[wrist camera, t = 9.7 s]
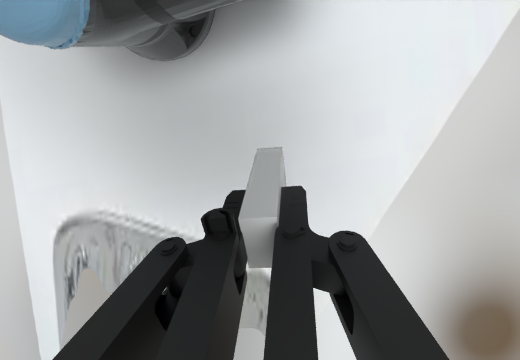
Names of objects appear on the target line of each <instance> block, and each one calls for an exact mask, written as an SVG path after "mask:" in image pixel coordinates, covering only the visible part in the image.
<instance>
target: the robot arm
mask: <svg viewBox="0 0 520 360" xmlns="http://www.w3.org/2000/svg"><path fill="white" fill-rule="evenodd" d="M238 1H241V0H0V35H2V36H4V37H6V38H9V39H11V40H14V41H17V42H20V43H24V44H29V45H40V46H45V47H49V48H51V49H66V48H69V47H88V46H125V47H127V48H128V49H130V50H131V51H133V52H134V53H136V54H138V55H141V56H143V57H146V58H150V59H154V60H172V59H178V58H181V57H184V56H186V55H188V54H190V53H191V52H193V51H194V50H195V49H196V48H197V47H198V46H199V45H200V44H201V43H202V42H203V40H204V39H205V37H206V36H207V34H208V32H209V30H210V27H211V24H212V21H213V17H214V11H215V9H216V8H219V7H222V6H226V5H229V4H232V3H235V2H238ZM201 222H202V225H203V228H204V232H205V237H204V239H202V240H199V241H196V242H192V243H189V244H186V242H185V241H184V240H183V239H182V238H179V237H172V238H168V239H165V240H163V241H161V242H160V243H159V244H157V245H156V246H155V247H154V248H153V249H152V251H151V252H150V253H149V254H148V255H147V256H146V257H145V258H144V259H143V260H142V262H141V263H140V264H139V265H138V266H137V267H136V268H135V269H134V270H133V272H132V273H131V274H130V275H129V276H128V277H127V278H126V279H125V280H124V281H123V283H122V284H121V285H120V286H119V287H118V288H117V289H116V290H115V291H114V292H113V294H112V295H111V296H110V297H109V298H108V299H107V300H106V301H105V302H104V303H103V305H102V306H101V307H100V308H99V309H98V310H97V311H96V312H95V313H94V314H93V316H92V317H91V318H90V319H89V320H88V321H87V322H86V323H85V324H84V325H83V327H82V328H81V329H80V330H79V331H78V332H77V333H76V334H75V335H74V337H73V338H72V339H71V340H70V341H69V342H68V343H67V344H66V345H65V346H64V348H63V349H62V350H61V351H60V352H59V353H58V354H57V355H56V356H55V357H54V359H53V360H233V358H234V352H235V346H236V340H237V334H238V329H239V323H240V317H241V311H242V306H243V300H244V294H245V288H246V282H247V272H246V264H247V261H248V265H249V268H270V267H272V270H271V281H270V293H269V304H268V315H267V327H266V338H265V349H264V360H318V350H317V336H316V322H315V308H314V294H313V288H316V289H319V290H322V291H326V292H329V293H330V297H331V299H332V302H333V304H334V306H335V309H336V311H337V313H338V316H339V318H340V321H341V323H342V325H343V328H344V330H345V333H346V335H347V337H348V340H349V342H350V345H351V347H352V349H353V352H354V354H355V357H356V359H357V360H449V358H448V357H447V356H446V354H445V353H444V351H443V350H442V348H441V347H440V346H439V344H438V343H437V341H436V340H435V338H434V337H433V336H432V334H431V333H430V331H429V330H428V328H427V327H426V326H425V324H424V323H423V321H422V320H421V318H420V317H419V316H418V314H417V313H416V311H415V310H414V308H413V307H412V305H411V304H410V303H409V301H408V300H407V299H406V297H405V295H404V294H403V293H402V291H401V290H400V288H399V287H398V285H397V284H396V283H395V281H394V280H393V278H392V277H391V275H390V274H389V273H388V271H387V270H386V268H385V267H384V265H383V264H382V263H381V261H380V260H379V258H378V257H377V255H376V254H375V253H374V251H373V250H372V248H371V247H370V245H369V244H368V243H367V241H366V240H365V239H364V238H363V237H362V236H361V235H359V234H357V233H355V232H351V231H339V232H336V233H334V234H333V235H332V236H331V237H330V238H328V237H323V236H320V235H318V234H316V233H314V232H313V231H312V230H311V229H310V228H309V225H308V214H307V201H306V191H305V190H304V189H303V187H302V186H290V187H286V178H285V168H284V158H283V149H282V147H276V148H264V149H257V152H256V155H255V159H254V163H253V166H252V170H251V174H250V177H249V181H248V185H247V188H246V190H234V191H232V192H231V193H230V194H229V195H228V196H227V197H226V200H225V202H224V205H223V208H218V209H213V210H211V211H208V212H207V213H206V214H204V215H203V216H202V218H201ZM166 287H167V288H166ZM165 288H166V290H165ZM164 290H165V291H164ZM163 291H164V292H163ZM162 292H163V293H162Z"/></svg>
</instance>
